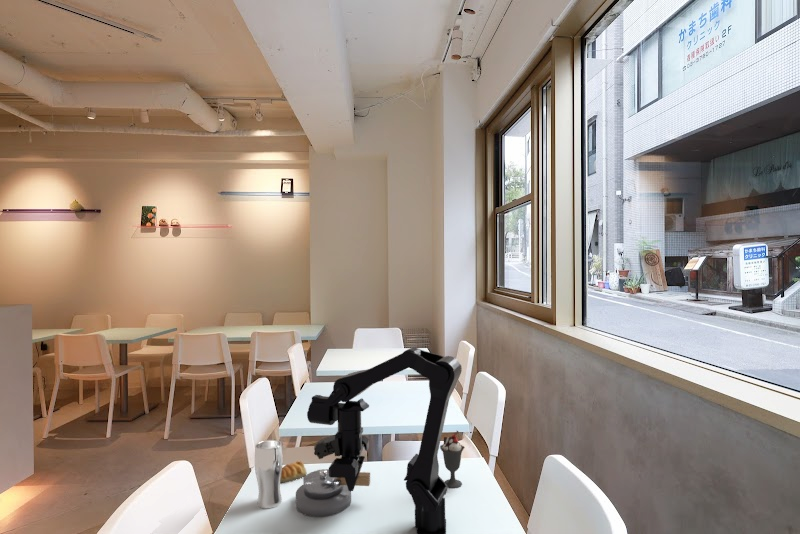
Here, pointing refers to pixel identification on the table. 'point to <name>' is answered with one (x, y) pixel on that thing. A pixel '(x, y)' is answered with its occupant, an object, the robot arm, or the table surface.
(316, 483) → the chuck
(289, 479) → the pastry
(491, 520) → the table surface
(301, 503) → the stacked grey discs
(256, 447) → the beer glass
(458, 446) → the sundae
